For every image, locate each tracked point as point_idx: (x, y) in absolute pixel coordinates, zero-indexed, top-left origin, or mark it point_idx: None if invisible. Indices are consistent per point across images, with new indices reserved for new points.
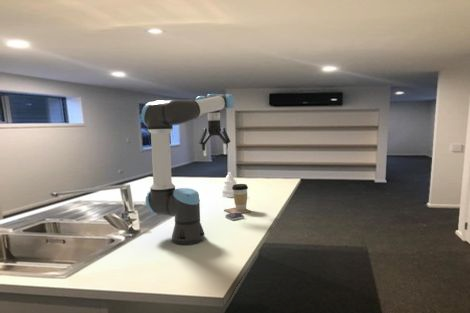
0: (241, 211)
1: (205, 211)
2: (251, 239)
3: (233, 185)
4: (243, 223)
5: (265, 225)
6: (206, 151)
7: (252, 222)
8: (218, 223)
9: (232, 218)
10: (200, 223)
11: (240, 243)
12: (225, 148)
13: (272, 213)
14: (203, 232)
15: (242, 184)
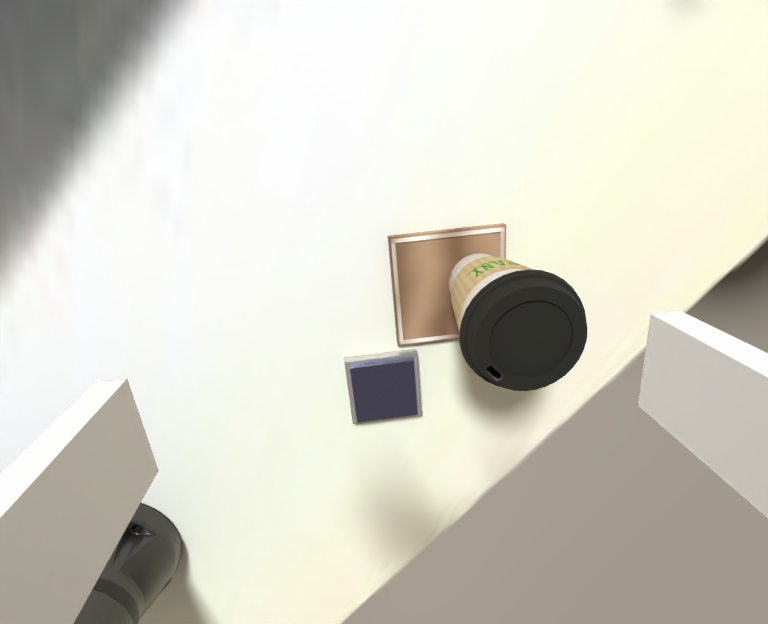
0: (456, 322)
1: (279, 185)
2: (329, 606)
3: (488, 317)
4: (381, 468)
5: (444, 518)
6: (105, 561)
7: (420, 471)
8: (281, 427)
9: (356, 423)
10: (143, 611)
11: (283, 621)
12: (754, 506)
13: (570, 396)
14: (168, 579)
15: (568, 318)
